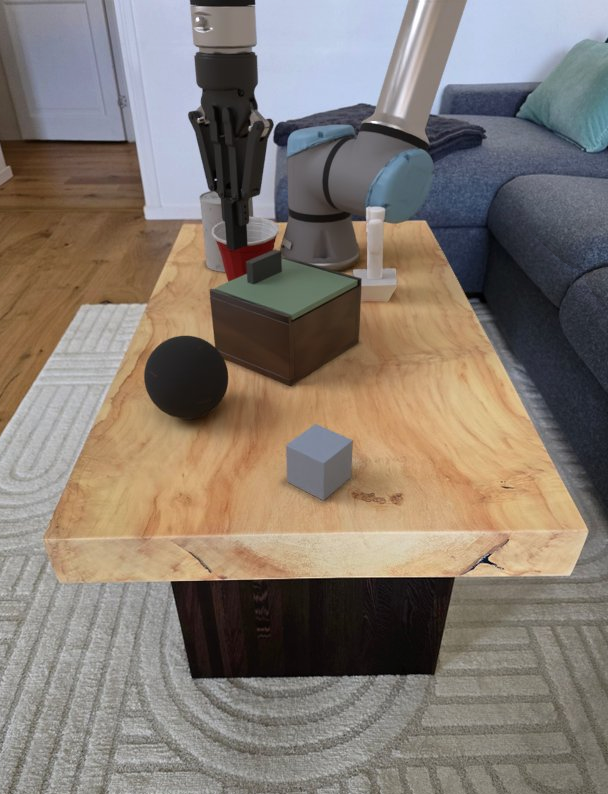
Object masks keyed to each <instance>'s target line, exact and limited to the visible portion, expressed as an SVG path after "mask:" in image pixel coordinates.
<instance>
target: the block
mask: <svg viewBox="0 0 608 794" xmlns="http://www.w3.org/2000/svg"><path fill="white" fill-rule="evenodd" d="M353 447H354V440H353V439H351V438H349V437H347V436H344V435H342V434H340V433H338V432H335V431H333V430H331V429H328V428H326V427H324V426H322V425H319V424H317V423H315V424H313V425H311V426H310V427H309V428H308V429H306V430H305V431H303V432H302V433H300V434H299V435H298V436H296V437H295V438H294V439H292V440H291V441H289V442H288V443H287V444H286V445H285V453H286V454H285V455H286V456H285V457H286V482H287V483H289V484H290V485H293V486H294V487H296V488H299V489H300V490H302V491H304V492H306V493H308V494H310V495H312V496H314V497H315V498H317V499H319V500H321V501H325V500H326V499H328V498H329V497H330V496H331V495H333V494H334V492H336V491H338V489H339V488H340V487H342V486H343V485H344V484H345V483H347V481H348V480H350V479H351V478H352V470H353V451H354V450H353V449H354V448H353Z"/></svg>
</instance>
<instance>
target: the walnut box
mask: <svg viewBox="0 0 608 794" xmlns="http://www.w3.org/2000/svg"><path fill="white" fill-rule="evenodd" d="M283 259H286V260H289V261H293V262H296V263H299V264H303V265H306V266H310V267H313V268H317V269H320V270H324V271H327V272H331V273H334V274H338V275H341V276H345V277H348V278H352V279H355V280H358V281H357V286H355V287H353V288H351V289H350V290H348V291H346V292H344V293H342V294H340V295H338V296H337V297H335V298H333V299H331V300H329V301H327V302H325V303H323V304H322V305H320V306H318V307H316V308H314V309H312V310H310V311H309V312H307V313H305V314H303V315H301V316H299V317H297V318H295V319H294V320H291V316H290V315H287V314H284V313H282V312H279V311H276V310H273V309H270V308H267V307H264V306H261V305H258V304H255V303H252V302H250V301H247V300H244V299H241V298H238V297H235V296H232V295H229V294H226V293H223V292H221V291H218V290H215V288H210V289H209V302H210V309H211V310H210V311H211V321H212V330H213V331H212V332H213V341H214V347H215V348H216V349H217V350H218V351H219V352H220V354H221V355H222V357H223V359H224V360H226V361H228V362H231V363H233V364H236V365H238V366H241V367H242V368H245V369H247V370H250V371H252V372H255V373H257V374H260V375H262V376H264V377H266V378H269V379H272V380H274V381H276V382H279V383H282V384H284V385H286V386H288V387H292V386H293V385H295V384H296V383H298V382H299V381H301V380H302V379H304V378H306V377H307V376H308V375H311V374H312V373H314V372H315V371H316V370H318V369H320V368H321V367H323V366H324V365H326V364H327V363H330V362H331V361H332V360H334V359H335V358H337V357H339V356H341V355H342V354H343V353H345V352H346V351H348V350H349V349H351V348H353V347H354V346H356V345H357V344H359V343H360V327H361V326H360V324H361V306H362V305H361V304H362V301H361V286H362V285H361V282H362V278H358V277H355V276H353V275H351V274H347V273H345V272H341V271H334V270H330V269H327V268H323V267H320V266H316V265H313V264H309V263H306V262H302V261H298V260H295V259H291V258H288V257H284V258H283Z"/></svg>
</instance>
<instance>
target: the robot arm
mask: <svg viewBox="0 0 608 794" xmlns="http://www.w3.org/2000/svg"><path fill="white" fill-rule="evenodd" d="M467 2H468V0H407V4H406V7H405V10H404V14H403V17H402V20H401V23H400V26H399V30H398V33H397V36H396V39H395V43H394V46H393V49H392V53H391V57H390V59H389V63H388V66H387V69H386V73H385V77H384V79H383V83H382V85H381V89H380V92H379V96H378V99H377V102H376V106H375V109H374V112H373V113H372V115H370V116H369V117H368V118H365V119H364V120H362V121H361V124H360V125H359V130H358V133H357V136H356V132H355V128H354V126H353V125H351V124H328V125H317V126H310V127H305V128H300V129H296V130H294V131H292V132H291V133H290V135H289V136H288V137H287V145H286V146H287V149H286V150H287V151H286V156H285V157H286V176H287V177H286V180H287V203H288V204H287V205H288V206H287V207H288V208H287V209H288V219H287V223H286V226H285V229H284V233H283V237H282V241H281V243H280V246H279V247H280V248H279V251H281V258H282V259H283V258H284V257H288V258H291V259H295V260H298V261H302V262H306V263H309V264H313V265H316V266H320V267H323V268H327V269H330V270H334V271H337V272H341V271H344V270H347V269H350V268H352V267H354V266H356V265H357V264H358V263H359V261H360V247H359V244H358V240H357V235H356V232H355V228H354V226H353V221H352V215H355V216H359V217H361V218H362V217H363V218H366V208H367V207H369V206H370V207H375V206H377V207H383V208H385V218H384V221H383V223H387V224H391V225H396V224H403V223H404V222H407V221H408V220H409V219H410V218H411V217H414V216H415V215H416V214H417V213H418V211H419V210H420V209H421V208H422V207H423V205H424V204H425V202H426V201H427V199H428V197H429V194H430V191H431V189H432V185H433V182H434V174H433V171H434V170H435V169H434V168H435V167H434V162H433V159H432V157H431V155H430V154H429V153H428V151H429V148H430V145H431V143H430V141H429V138H428V136H427V134H426V127H427V124H428V121H429V118H430V115H431V112H432V109H433V105H434V104H435V103H434V102H435V100H436V97H437V93H438V90H439V87H440V84H441V81H442V78H443V75H444V73H445V69H446V67H447V63H448V60H449V57H450V54H451V51H452V47H453V44H454V42H455V39H456V35H457V33H458V29H459V26H460V23H461V21H462V17H463V14H464V11H465V8H466V6H467ZM189 8H190V18H191V19H190V20H191V31H192V32H191V33H192V43H193V45H194V46H195V47H196V48H198V51H196V52H195V55H193V58H194V59H193V60H194V69H195V71H194V72H195V80H196V85H197V86H198V88H200V89H201V97H200V106H198V108H196V110H191V111H188V112H187V113H188V114H187V118H188V120H189V122H190V124H191V127H192V130H193V131H194V133H195V138H196V142H197V146H198V151H199V155H200V159H201V164H202V169H203V172H204V175H205V181H206V185H207V188H208V190H209V191H215V192H216V193H217V194H218V196H219V198H221V210H222V219H223V221H224V222H225V230H226V244H227V248H228V249H231V250H237V249H240V248H242V247H245V246H248V243H247V224H248V223H249V203H248V202H249V199H250V198H251V197H253V198H255V197H257V196H260V194H261V191H262V183H263V177H264V171H265V170H264V169H265V162H266V155H267V149H268V142H269V141H268V140H269V138H270V135H271V133H272V131H273V130H274V124H275V123H274V120H273V119H272V118H265V117H264V116H263V115H262V114H261V113H260V112H259V105H258V100H257V99H256V96H255V89H256V87H257V86H258V84H259V72H258V71H259V70H258V69H259V67H258V55H257V54H256V52H255V51H253V48H254V47H256V46H257V45H258V39H257V38H258V37H257V16H256V14H257V13H256V0H189Z"/></svg>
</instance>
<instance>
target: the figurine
mask: <svg viewBox="0 0 608 794" xmlns="http://www.w3.org/2000/svg"><path fill="white" fill-rule="evenodd" d="M384 218H385V208H383V207H377V206H375V207H370V206H369V207H367V208H366V217H365V220H366V227H365V233H366V244H367V245H366V250H367V251H366V268H357V269H353V270H352V271H353V272H352V273H353V274H352V276H355V277H358V278H362V282H361V285H362V286H361V302H383V303H384V302H389V301H390V299H391V298H392V296H393V294H394V292H395V291H396V289H397V287H398V278H397V269H396V267H395V268H384V266H383V265H384V222H383V221H384Z"/></svg>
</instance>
